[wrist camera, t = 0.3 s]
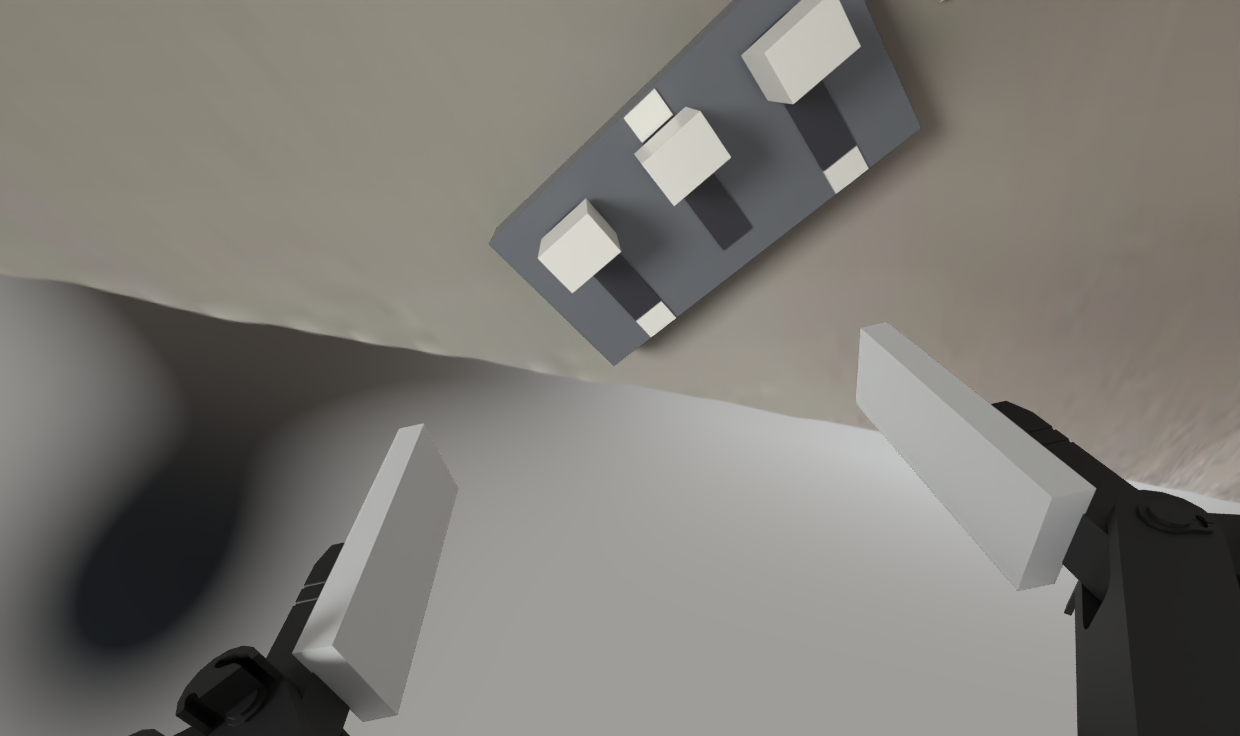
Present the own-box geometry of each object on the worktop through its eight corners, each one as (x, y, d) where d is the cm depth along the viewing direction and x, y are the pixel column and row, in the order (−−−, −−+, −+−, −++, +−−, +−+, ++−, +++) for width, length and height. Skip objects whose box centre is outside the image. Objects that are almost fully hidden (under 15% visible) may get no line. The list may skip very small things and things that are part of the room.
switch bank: (496, 228, 36) (488, 245, 33) (798, -63, 29) (830, -82, 26) (610, 342, 42) (614, 367, 39) (886, 122, 35) (922, 128, 31)
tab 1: (541, 239, 33) (537, 258, 29) (586, 198, 32) (587, 213, 28) (572, 271, 34) (572, 293, 31) (616, 233, 33) (621, 251, 29)
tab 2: (633, 154, 30) (641, 164, 27) (685, 106, 29) (700, 110, 26) (663, 191, 32) (674, 206, 28) (713, 148, 31) (731, 157, 27)
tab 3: (740, 55, 28) (764, 52, 25) (801, 0, 27) (834, -11, 24) (767, 100, 30) (793, 104, 26) (826, 49, 28) (860, 46, 25)
